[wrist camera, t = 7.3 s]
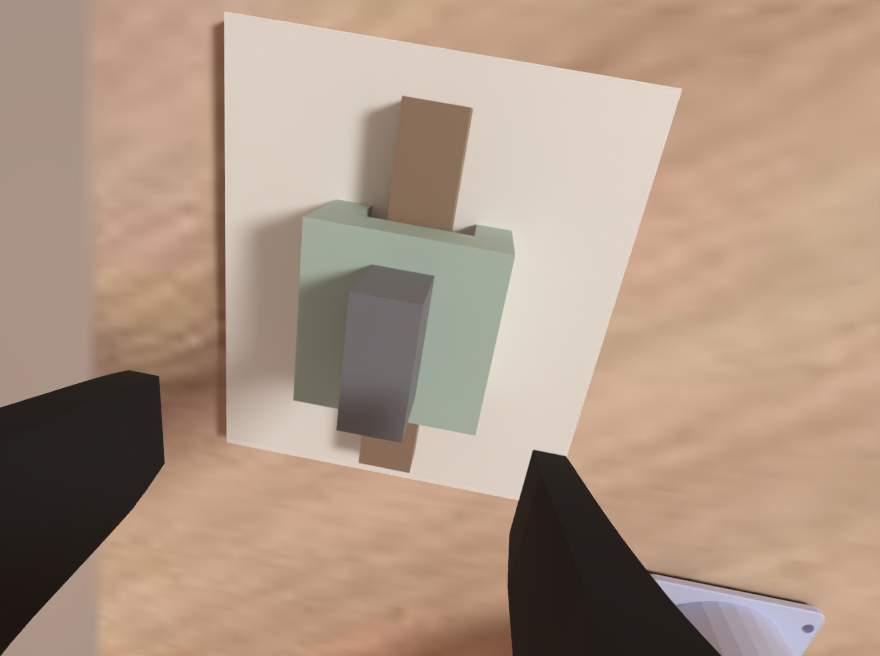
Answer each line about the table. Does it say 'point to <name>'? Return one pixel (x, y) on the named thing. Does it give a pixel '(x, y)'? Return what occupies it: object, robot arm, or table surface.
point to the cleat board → (511, 184)
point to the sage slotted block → (397, 320)
